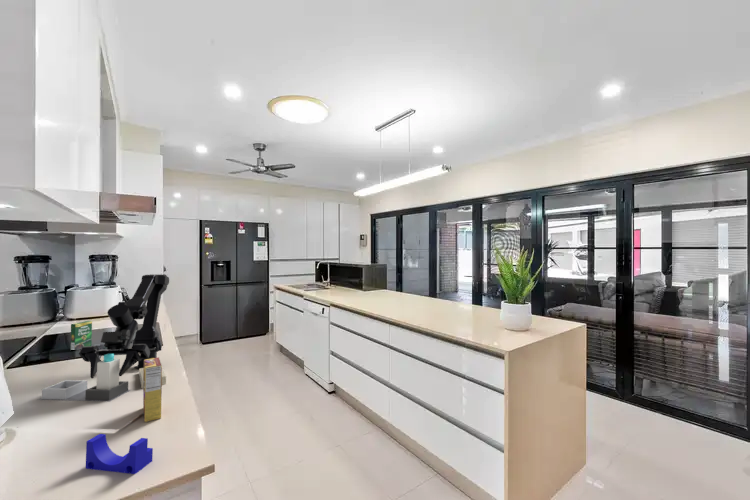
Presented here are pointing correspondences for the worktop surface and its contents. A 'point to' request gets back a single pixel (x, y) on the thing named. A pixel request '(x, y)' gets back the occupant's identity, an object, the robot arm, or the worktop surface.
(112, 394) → the grey long flat tray
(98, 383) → the plug
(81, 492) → the worktop surface
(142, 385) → the electrical outlet
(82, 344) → the coffee box
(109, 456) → the blue cradle bracket
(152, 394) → the candy box
